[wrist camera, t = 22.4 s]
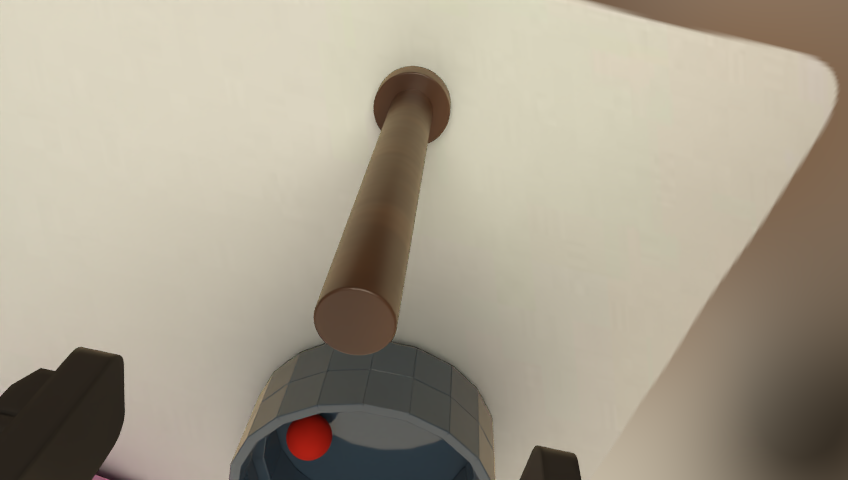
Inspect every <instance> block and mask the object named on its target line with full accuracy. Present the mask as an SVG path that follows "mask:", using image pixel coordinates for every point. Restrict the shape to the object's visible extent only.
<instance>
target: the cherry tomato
mask: <svg viewBox="0 0 848 480" xmlns="http://www.w3.org/2000/svg"><path fill="white" fill-rule="evenodd" d="M286 442H287V446H288V448H289V450H290V452H291V453H292V454H293V455H294V456H295V457H297V458H299V459H301V460H306V461H310V460H315V459H318V458H320V457H321V456H323V455H324V454H325V453H326V452H327V450H328V449H329V447H330V445H331V442H332V430H331V427H330V425H329V423H328V422H327V420H326V419H325V418H323V417H322V416H320V415H318V414H316V415H313V416H309V417H306V418H303V419H299V420H296V421H293V422H292V423H291V424H290V426H289V428H288V430H287V435H286Z"/></svg>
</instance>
